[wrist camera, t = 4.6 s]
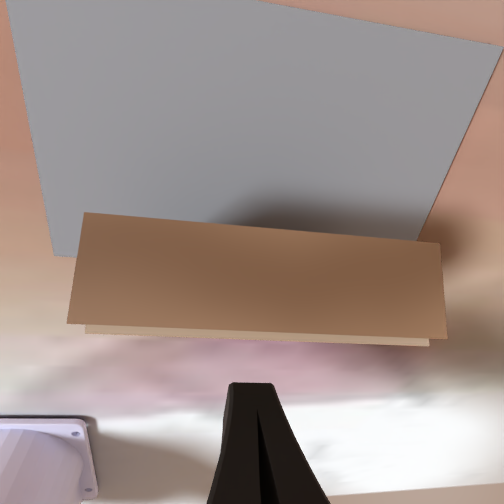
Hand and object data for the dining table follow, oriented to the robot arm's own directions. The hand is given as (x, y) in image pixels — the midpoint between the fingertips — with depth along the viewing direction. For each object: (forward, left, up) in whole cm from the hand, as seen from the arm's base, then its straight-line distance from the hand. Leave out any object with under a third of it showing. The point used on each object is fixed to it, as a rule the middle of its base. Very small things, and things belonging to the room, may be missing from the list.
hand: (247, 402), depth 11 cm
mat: (+6, 0, -6) cm, 9 cm away
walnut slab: (-1, 0, -6) cm, 6 cm away
